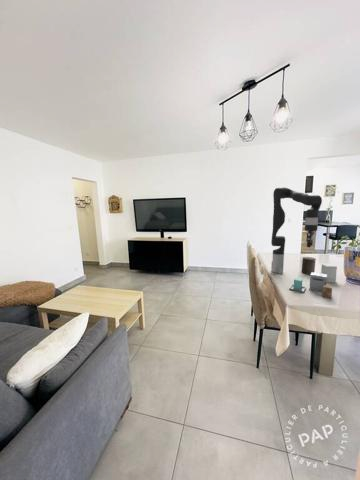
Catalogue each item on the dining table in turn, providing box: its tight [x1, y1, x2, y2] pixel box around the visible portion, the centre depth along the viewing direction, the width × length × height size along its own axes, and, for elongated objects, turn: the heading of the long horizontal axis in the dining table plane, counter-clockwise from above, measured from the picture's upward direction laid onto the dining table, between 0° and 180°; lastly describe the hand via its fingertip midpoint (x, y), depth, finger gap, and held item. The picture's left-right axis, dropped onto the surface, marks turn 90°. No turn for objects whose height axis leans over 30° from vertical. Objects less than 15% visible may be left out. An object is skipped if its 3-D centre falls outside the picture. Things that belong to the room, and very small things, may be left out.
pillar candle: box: [301, 256, 316, 275], centre depth 170 cm, size 10×10×15 cm
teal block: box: [293, 277, 303, 290], centre depth 138 cm, size 4×4×7 cm
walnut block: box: [322, 284, 333, 300], centre depth 125 cm, size 4×4×7 cm
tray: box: [288, 283, 307, 294], centre depth 138 cm, size 9×9×1 cm
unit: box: [309, 272, 328, 293], centre depth 136 cm, size 9×8×11 cm
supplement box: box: [320, 263, 338, 283], centre depth 152 cm, size 7×7×13 cm
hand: (309, 246), depth 139 cm, fingers open, 8 cm apart
